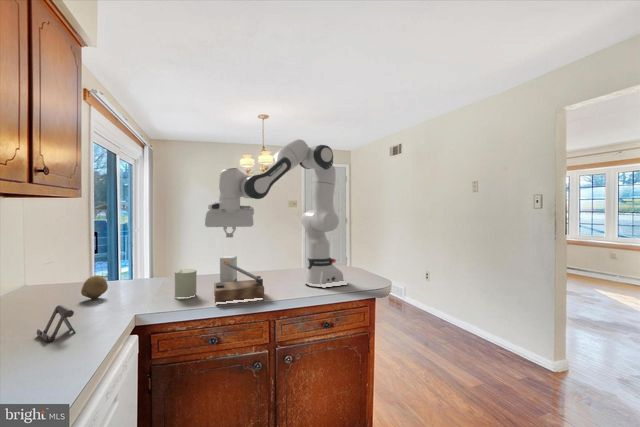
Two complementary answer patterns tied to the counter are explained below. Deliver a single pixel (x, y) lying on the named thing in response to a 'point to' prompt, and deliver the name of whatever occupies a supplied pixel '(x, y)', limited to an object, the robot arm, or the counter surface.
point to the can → (185, 282)
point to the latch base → (238, 290)
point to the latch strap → (239, 269)
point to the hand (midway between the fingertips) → (229, 237)
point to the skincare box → (228, 269)
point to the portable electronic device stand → (64, 314)
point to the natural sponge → (94, 287)
